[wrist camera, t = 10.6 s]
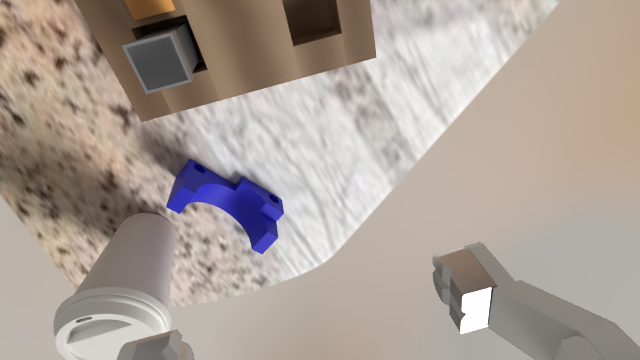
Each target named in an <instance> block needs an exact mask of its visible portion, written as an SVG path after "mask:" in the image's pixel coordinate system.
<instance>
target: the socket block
mask: <svg viewBox="0 0 640 360" xmlns="http://www.w3.org/2000/svg"><path fill="white" fill-rule="evenodd" d="M75 2H76V3H77V5H78V7H79V9H80V11H81V12H82V14H83V16H84V18H85V20H86V22H87V23H88V25H89V27H90V29H91V31H92V33H93V34H94V36H95V38H96V40H97V42H98V43H99V45H100V47H101V49H102V51H103V53H104V54H105V56H106V58H107V60H108V62H109V64H110V65H111V67H112V69H113V71H114V73H115V75H116V76H117V78H118V80H119V82H120V84H121V85H122V87H123V89H124V91H125V93H126V95H127V96H128V98H129V100H130V102H131V104H132V106H133V107H134V109H135V111H136V113H137V115H138V116H139V118H140V120H141V122H143V121H147V120H151V119H154V118H158V117H162V116H165V115H169V114H172V113H176V112H180V111H183V110H187V109H191V108H194V107H198V106H202V105H205V104H209V103H212V102H216V101H220V100H223V99H227V98H231V97H234V96H238V95H242V94H245V93H249V92H252V91H256V90H260V89H263V88H267V87H271V86H274V85H278V84H282V83H285V82H289V81H292V80H296V79H300V78H303V77H307V76H311V75H314V74H318V73H322V72H325V71H329V70H332V69H336V68H340V67H343V66H347V65H351V64H354V63H358V62H362V61H365V60H369V59H372V58H376V50H375V41H374V33H373V24H372V16H371V8H370V0H75ZM184 21H189V23H190V26H191V28H192V31H193V33H194V36H195V39H196V41H197V44H198V46H199V49H200V51H201V54H202V55H201V57H200V59H199V61H198V63H197V65H196V66H195V68H194V70H193V72H192V73H193V75H194V79H193V82H189V83H186V84H182V85H178V86H175V87H171V88H167V89H164V90H160V91H156V92H153V93H149V94H146V92H145V91H144V89H143V87H142V85H141V83H140V81H139V79H138V77H137V75H136V73H135V71H134V69H133V67H132V65H131V63H130V61H129V59H128V57H127V56H126V54H125V52H124V50H123V48H122V45H124V44H125V43H127V42H131V41H135V40H138V39H141V38H142V37H144V36H146V35H147V34H149V33H150V32H152V31H153V30H155V29H158V28H162V27H166V26H169V25H173V24H177V23H181V22H184Z"/></svg>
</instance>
